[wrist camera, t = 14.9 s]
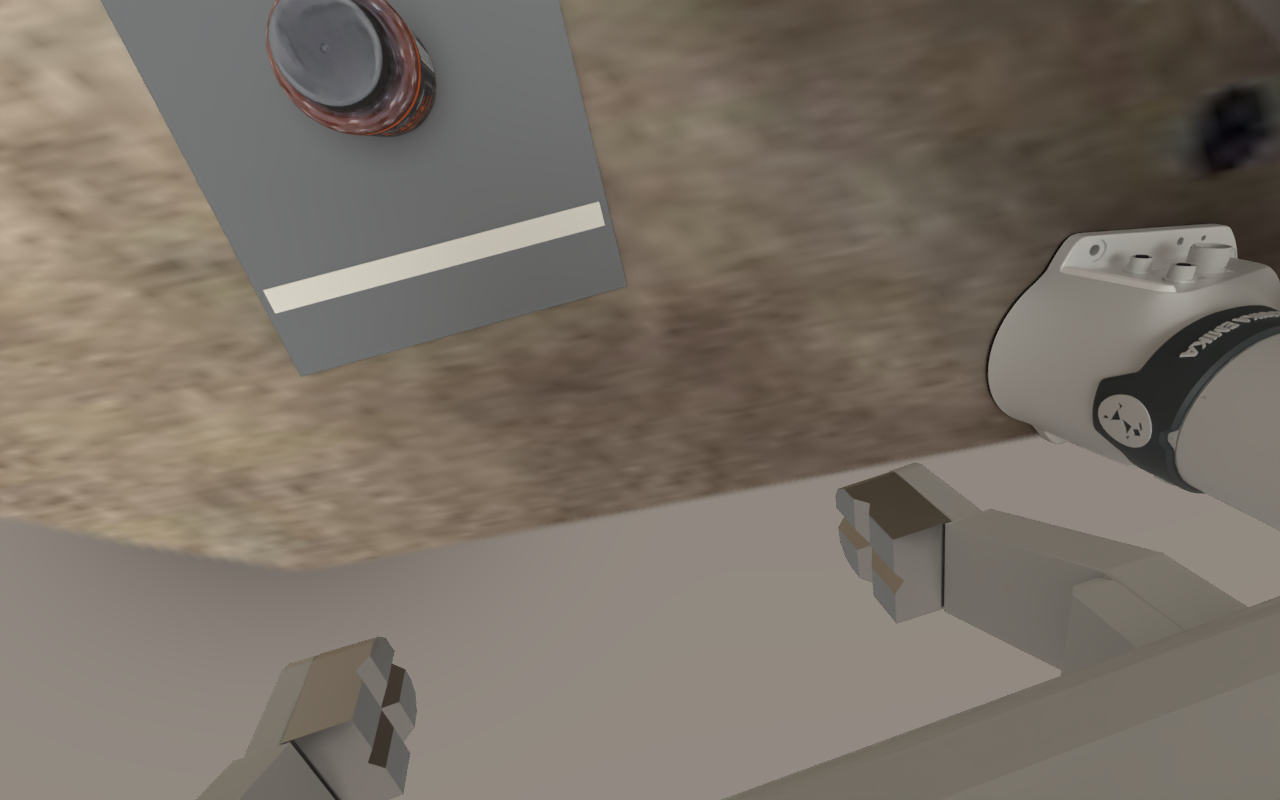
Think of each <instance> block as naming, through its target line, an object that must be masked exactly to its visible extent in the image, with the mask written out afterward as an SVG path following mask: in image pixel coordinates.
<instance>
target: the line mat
mask: <svg viewBox="0 0 1280 800" xmlns="http://www.w3.org/2000/svg"><path fill="white" fill-rule="evenodd" d="M275 1H276V0H101V2H102V3H103V5H104V7H105V9H106V11H107V13H108V15H109V17H110V18H111V20H112V22H113V24H114V26H115V28H116V30H117V32H118V34H119V35H120V37H121V39H122V41H123V43H124V45H125V47H126V49H127V50H128V52H129V54H130V56H131V58H132V60H133V62H134V64H135V66H136V67H137V69H138V71H139V73H140V75H141V77H142V79H143V81H144V82H145V84H146V86H147V88H148V90H149V92H150V94H151V96H152V97H153V99H154V101H155V103H156V105H157V107H158V109H159V111H160V113H161V114H162V116H163V118H164V120H165V122H166V124H167V126H168V128H169V129H170V131H171V133H172V135H173V137H174V139H175V141H176V143H177V145H178V146H179V148H180V150H181V152H182V154H183V156H184V158H185V160H186V161H187V163H188V165H189V167H190V169H191V171H192V173H193V175H194V176H195V178H196V180H197V182H198V184H199V186H200V188H201V190H202V192H203V193H204V195H205V197H206V199H207V201H208V203H209V205H210V207H211V208H212V210H213V212H214V214H215V216H216V218H217V220H218V222H219V224H220V225H221V227H222V229H223V231H224V233H225V235H226V237H227V239H228V240H229V242H230V244H231V246H232V248H233V250H234V252H235V254H236V255H237V257H238V259H239V261H240V263H241V265H242V267H243V269H244V271H245V272H246V274H247V276H248V278H249V280H250V282H251V284H252V286H253V287H254V289H255V291H256V293H257V295H258V297H259V299H260V301H261V303H262V304H263V306H264V308H265V310H266V312H267V314H268V316H269V318H270V319H271V321H272V323H273V325H274V327H275V329H276V331H277V333H278V334H279V336H280V338H281V340H282V342H283V344H284V346H285V348H286V350H287V351H288V353H289V355H290V357H291V359H292V361H293V363H294V365H295V366H296V368H297V370H298V372H299V374H300V376H301V377H302V376H305V375H309V374H313V373H316V372H320V371H323V370H327V369H331V368H334V367H338V366H341V365H345V364H349V363H352V362H356V361H359V360H363V359H367V358H370V357H374V356H377V355H381V354H385V353H388V352H392V351H395V350H399V349H402V348H406V347H410V346H413V345H417V344H420V343H424V342H428V341H431V340H435V339H438V338H442V337H446V336H449V335H453V334H456V333H460V332H464V331H467V330H471V329H474V328H478V327H482V326H485V325H489V324H492V323H496V322H500V321H503V320H507V319H510V318H514V317H518V316H521V315H525V314H528V313H532V312H536V311H539V310H543V309H546V308H550V307H554V306H557V305H561V304H564V303H568V302H572V301H575V300H579V299H582V298H586V297H590V296H593V295H597V294H600V293H604V292H608V291H611V290H615V289H618V288H622V287H626V286H627V284H626V280H625V275H624V271H623V267H622V263H621V259H620V254H619V250H618V246H617V242H616V238H615V234H614V229H613V225H612V221H611V217H610V213H609V208H608V204H607V200H606V196H605V192H604V188H603V183H602V179H601V175H600V171H599V167H598V162H597V158H596V154H595V150H594V146H593V142H592V137H591V133H590V129H589V125H588V121H587V116H586V112H585V108H584V104H583V100H582V95H581V91H580V87H579V83H578V79H577V75H576V70H575V66H574V62H573V58H572V54H571V49H570V45H569V41H568V37H567V33H566V29H565V24H564V20H563V16H562V12H561V8H560V3H559V0H386V1H387V2H388V3H389V4H390V5H391V6H392V7H393V8H394V9H395V11H396V12H397V13H398V14H399V15H400V16H401V18H402V19H403V20H404V21H405V23H406V24H407V25H408V26H409V28H410V29H411V30H412V31H413V32H414V34H415V35H416V36H417V37H418V38H419V40H420V41H421V42H422V44H423V45H424V47H425V49H426V50H427V52H428V54H429V57H430V59H431V61H432V64H433V67H434V71H435V77H436V86H437V88H436V96H435V101H434V104H433V107H432V109H431V111H430V113H429V115H428V117H427V118H426V119H425V120H424V121H423V123H422V124H421V125H420V126H418V127H417V128H416V129H414V130H413V131H410V132H408V133H406V134H403V135H399V136H395V137H377V136H362V135H352V134H345V133H341V132H338V131H335V130H332V129H330V128H328V127H325V126H323V125H321V124H319V123H318V122H316V121H315V120H313V119H311V118H310V117H308V116H307V115H306V114H304V113H303V112H302V111H301V110H300V109H299V108H298V107H297V106H296V105H295V104H294V103H293V102H292V101H291V100H290V99H289V97H288V96H287V95H286V94H285V92H284V90H283V89H282V87H281V86H280V84H279V83H278V81H277V79H276V77H275V75H274V72H273V70H272V67H271V64H270V61H269V57H268V53H267V46H266V28H267V22H268V17H269V14H270V11H271V8H272V7H273V5H274V3H275Z"/></svg>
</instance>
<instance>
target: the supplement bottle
mask: <svg viewBox="0 0 1280 800" xmlns="http://www.w3.org/2000/svg"><path fill="white" fill-rule="evenodd" d="M266 46H267V53H268V57H269V61H270V64H271V67H272V70H273V72H274V75H275V77H276V79H277V81H278V83H279V84H280V86H281V87H282V89H283V90H284V92H285V94H286V95H287V96H288V97H289V99H290V100H291V101H292V102H293V103H294V104H295V105H296V106H297V107H298V108H299V109H300V110H301V111H302V112H303V113H304V114H306V115H307V116H308V117H310V118H311V119H313V120H315V121H316V122H318V123H319V124H321V125H323V126H325V127H328V128H330V129H332V130H335V131H338V132H341V133H345V134H352V135H362V136H377V137H395V136H399V135H403V134H406V133H408V132H410V131H413V130H414V129H416V128H417V127H418V126H420V125H421V124H422V123H423V121H424V120H425V119H426V118H427V117H428V115H429V113H430V111H431V109H432V107H433V104H434V101H435V96H436V88H437V86H436V77H435V71H434V67H433V64H432V61H431V59H430V57H429V54H428V52H427V50H426V49H425V47H424V45H423V44H422V42H421V41H420V40H419V38H418V37H417V36H416V35H415V34H414V32H413V31H412V30H411V29H410V28H409V26H408V25H407V24H406V23H405V21H404V20H403V19H402V18H401V16H400V15H399V14H398V13H397V12H396V11H395V9H394V8H393V7H392V6H391V5H390V4H389V3H388V2H387V1H386V0H276V1H275V3H274V5H273V7H272V8H271V11H270V14H269V17H268V22H267V28H266Z"/></svg>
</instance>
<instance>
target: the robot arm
mask: <svg viewBox="0 0 1280 800" xmlns="http://www.w3.org/2000/svg"><path fill="white" fill-rule="evenodd" d="M988 381H989V387H990V391H991V394H992V396H993V399H994V400H995V402H996V404H997V405H998V407H999V408H1000V409H1001V410H1002V411H1003V412H1004V413H1006V414H1007V415H1008V416H1010V417H1012V418H1014V419H1016V420H1019V421H1022V422H1025V423H1028V424H1030V425H1032V426H1033V427H1034V428H1035V430H1036V431H1037V432H1038V433H1039V435H1040V436H1041V437H1042V438H1044V439H1045V440H1047V441H1050V442H1052V443H1055V444H1061V443H1064V442H1066V441H1068V442H1071V443H1073V444H1076V445H1077V446H1080V447H1082V448H1085V449H1087V450H1089V451H1092V452H1094V453H1097V454H1099V455H1101V456H1104V457H1106V458H1108V459H1111V460H1113V461H1116V462H1118V463H1121V464H1123V465H1126V466H1129V467H1139V468H1141V469H1143V470H1145V471H1147V472H1149V473H1151V474H1153V475H1154V477H1155V478H1157V479H1160V480H1162V481H1164V482H1166V483H1168V484H1171V485H1175V486H1178V487H1180V488H1182V489H1184V490H1187V491H1190V492H1193V493H1205V494H1208V495H1210V496H1212V497H1214V498H1216V499H1218V500H1220V501H1222V502H1224V503H1226V504H1228V505H1230V506H1232V507H1234V508H1236V509H1238V510H1240V511H1242V512H1244V513H1246V514H1248V515H1250V516H1251V517H1253V518H1256V519H1258V520H1259V521H1262V522H1263V523H1265V524H1267V525H1269V526H1271V527H1273V528H1275V529H1277V530H1279V531H1280V281H1279V279H1278V276H1277V274H1276V273H1275V272H1274V271H1273V269H1271V268H1270V267H1269V266H1267V265H1264V264H1261V263H1256V262H1252V261H1247V260H1242V259H1237V247H1236V241H1235V238H1234V235H1233V232H1232V230H1231V228H1230V227H1228V226H1224V225H1220V224H1198V225H1184V226H1170V227H1157V228H1143V229H1129V230H1115V231H1101V232H1087V233H1077V234H1074V235H1072V236H1070V237H1069V238H1068V239H1067V240H1066V241H1065V242H1064V243H1063V244H1062V246H1061V247H1060V249H1059V250H1058V252H1057V253H1056V255H1055V257H1054V258H1053V260H1052V262H1051V264H1050V265H1049V267H1048V269H1047V271H1046V272H1045V273H1044V274H1043V275H1042V276H1041V277H1040V278H1039V280H1038V281H1036V282H1035V283H1034V284H1033V285H1032V286H1031V287H1030V288H1029V289H1028V290H1027V291H1026V292H1025V293H1024V294H1023V295H1022V296H1021V297H1020V299H1019V300H1018V301H1017V302H1016V303H1015V305H1014V306H1013V307H1012V309H1011V310H1010V312H1009V313H1008V314H1007V316H1006V318H1005V319H1004V321H1003V323H1002V325H1001V327H1000V329H999V331H998V333H997V335H996V338H995V340H994V343H993V346H992V350H991V353H990V358H989V366H988ZM836 507H837V509H838V510H839V511H840V512H841V513H842V515H843V516H844V518H843V520H842V522H841V524H840V526H839V527H838V528H839V536H840V543H841V545H842V548H843V551H844V554H845V557H846V558H847V560H848V562H849V564H850V566H851V567H852V568H853V570H854V571H855V572H856V574H857V575H858V576H859V577H860V578H862V579H864V580H867V581H870V582H872V583H873V591H874V592H873V593H874V596H875V598H876V599H877V600H878V601H879V603H880V604H881V605H882V606H883V608H884V609H885V610H886V611H887V612H888V614H889V615H890V616H891V617H892V618H893V620H894V621H895V622H896V623H900V622H903V621H906V620H909V619H913V618H916V617H919V616H922V615H925V614H928V613H932V612H935V611H938V610H941V609H944V611H945V612H947V613H949V614H951V615H953V616H955V617H957V618H959V619H961V620H963V621H965V622H967V623H968V624H970V625H972V626H975V627H977V628H978V629H980V630H982V631H984V632H987V633H988V634H990V635H992V636H994V637H997V638H998V639H1000V640H1002V641H1005V642H1006V643H1008V644H1010V645H1012V646H1014V647H1016V648H1018V649H1020V650H1022V651H1024V652H1026V653H1028V654H1030V655H1032V656H1034V657H1036V658H1038V659H1040V660H1042V661H1044V662H1046V663H1048V664H1050V665H1052V666H1054V667H1056V668H1058V669H1060V670H1061V676H1060V677H1057V678H1054V679H1051V680H1049V681H1046V682H1043V683H1040V684H1038V685H1035V686H1032V687H1029V688H1027V689H1024V690H1021V691H1018V692H1015V693H1013V694H1010V695H1007V696H1004V697H1002V698H999V699H996V700H994V701H991V702H988V703H986V704H983V705H980V706H977V707H974V708H972V709H969V710H966V711H963V712H961V713H958V714H955V715H953V716H950V717H947V718H944V719H941V720H939V721H936V722H933V723H931V724H928V725H925V726H922V727H920V728H917V729H914V730H911V731H909V732H906V733H903V734H900V735H897V736H895V737H892V738H890V739H887V740H884V741H881V742H878V743H876V744H873V745H870V746H867V747H865V748H862V749H859V750H856V751H854V752H851V753H848V754H846V755H843V756H840V757H837V758H834V759H832V760H829V761H826V762H823V763H821V764H818V765H815V766H812V767H810V768H807V769H804V770H801V771H799V772H796V773H793V774H790V775H788V776H785V777H782V778H780V779H777V780H774V781H771V782H769V783H766V784H763V785H761V786H758V787H755V788H752V789H749V790H747V791H744V792H741V793H738V794H736V795H733V796H730V797H727V798H725V799H722V800H1280V596H1279V597H1277V598H1274V599H1271V600H1268V601H1266V602H1263V603H1260V604H1257V605H1254V606H1252V607H1247V606H1246V605H1244V604H1242V603H1241V602H1239V601H1238V600H1236V599H1234V598H1233V597H1231V596H1230V595H1228V594H1226V593H1225V592H1223V591H1222V590H1220V589H1219V588H1217V587H1216V586H1214V585H1212V584H1211V583H1209V582H1208V581H1206V580H1204V579H1203V578H1201V577H1199V576H1198V575H1196V574H1195V573H1193V572H1192V571H1190V570H1188V569H1187V568H1185V567H1184V566H1182V565H1181V564H1179V563H1177V562H1176V561H1174V560H1173V559H1171V558H1170V557H1168V556H1167V555H1165V554H1163V553H1161V552H1157V551H1153V550H1149V549H1145V548H1141V547H1137V546H1133V545H1129V544H1125V543H1122V542H1118V541H1114V540H1110V539H1106V538H1102V537H1098V536H1094V535H1090V534H1086V533H1082V532H1079V531H1074V530H1071V529H1067V528H1063V527H1059V526H1055V525H1051V524H1047V523H1043V522H1040V521H1036V520H1032V519H1028V518H1024V517H1020V516H1016V515H1012V514H1009V513H1004V512H1001V511H997V510H993V509H989V510H986V511H981V510H980V509H979V508H977V507H976V506H975V505H974V504H972V503H971V502H970V501H968V500H967V499H966V498H965V497H963V496H962V495H961V494H959V493H958V492H957V491H956V490H954V489H953V488H951V487H950V486H949V485H948V484H946V483H945V482H944V481H942V480H941V479H940V478H939V477H937V476H936V475H935V474H934V473H932V472H931V471H930V470H928V469H927V468H926V467H924V466H923V465H922V464H918V463H912V464H909V465H906V466H904V467H901V468H898V469H895V470H892V471H890V472H889V473H885V474H882V475H879V476H876V477H873V478H870V479H867V480H864V481H861V482H858V483H855V484H852V485H849V486H846V487H843V488H840V489H837V493H836ZM393 656H394V650H393V648H392V647H391V645H390V644H389V642H388V641H387V639H386V638H384V637H376V638H372V639H369V640H365V641H362V642H359V643H355V644H352V645H349V646H346V647H342V648H339V649H335V650H332V651H329V652H325V653H322V654H320V655H318V656H313V657H310V658H307V659H304V660H300V661H297V662H294V663H290V664H289V665H288V666H286V667H285V668H284V669H283V670H282V671H281V673H280V676H279V678H278V680H277V682H276V685H275V687H274V689H273V692H272V694H271V696H270V699H269V701H268V703H267V705H266V708H265V710H264V712H263V715H262V717H261V719H260V721H259V724H258V726H257V728H256V730H255V733H254V735H253V737H252V739H251V742H250V744H249V746H248V749H247V751H246V753H245V756H244V758H241V759H238V760H235V761H233V762H232V763H231V764H230V765H229V766H228V767H227V768H226V769H225V770H224V771H223V772H222V773H221V774H220V775H219V776H218V777H217V778H216V779H215V780H214V781H213V783H212V784H211V785H210V786H209V787H208V788H207V789H206V790H205V791H204V792H203V793H202V794H201V795H200V796H199V797H198V798H197V799H196V800H389V799H392V798H394V797H397V796H400V795H403V793H404V787H405V781H406V775H407V769H408V764H409V757H410V752H409V750H408V749H407V747H406V746H405V744H404V741H405V740H406V738H407V737H408V735H409V734H410V733H411V731H412V730H413V729H414V727H415V720H416V713H417V709H416V708H417V707H416V695H415V690H414V687H413V684H412V681H411V679H410V677H409V675H408V673H407V672H406V670H405V669H403V668H401V667H398V666H396V665H394V664H392V661H393Z"/></svg>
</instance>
